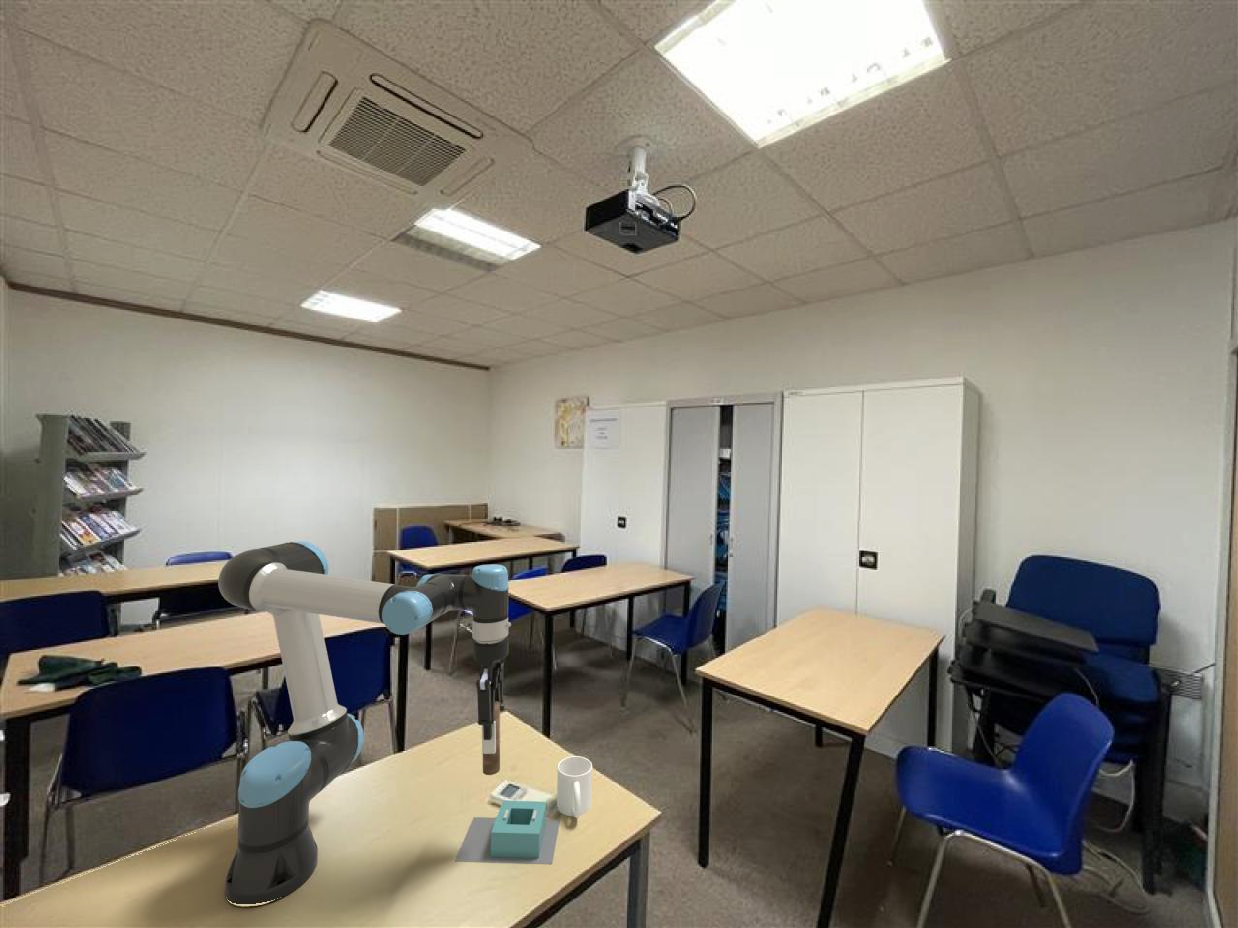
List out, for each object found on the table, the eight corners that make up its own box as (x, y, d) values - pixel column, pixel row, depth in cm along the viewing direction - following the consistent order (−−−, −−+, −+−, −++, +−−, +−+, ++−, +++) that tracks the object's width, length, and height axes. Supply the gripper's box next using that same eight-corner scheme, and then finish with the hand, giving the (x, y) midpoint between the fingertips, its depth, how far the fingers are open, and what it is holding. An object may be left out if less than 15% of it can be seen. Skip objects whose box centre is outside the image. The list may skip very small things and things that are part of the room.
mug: (594, 830, 114) (595, 784, 114) (558, 833, 112) (559, 787, 112) (589, 795, 126) (590, 754, 126) (556, 798, 124) (556, 757, 124)
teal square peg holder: (490, 856, 104) (491, 829, 104) (502, 822, 114) (502, 798, 114) (538, 857, 104) (539, 831, 104) (546, 823, 114) (546, 799, 114)
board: (454, 865, 103) (454, 861, 103) (473, 821, 116) (473, 816, 116) (552, 868, 102) (552, 863, 102) (560, 823, 115) (560, 819, 115)
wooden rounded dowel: (480, 774, 106) (480, 708, 106) (485, 764, 109) (485, 700, 110) (497, 775, 106) (497, 708, 106) (501, 765, 109) (501, 700, 110)
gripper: (498, 651, 100) (498, 770, 99) (516, 626, 116) (517, 728, 116) (460, 651, 100) (461, 770, 100) (484, 626, 116) (485, 727, 116)
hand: (491, 747), depth 108 cm, fingers closed on wooden rounded dowel, 3 cm apart
